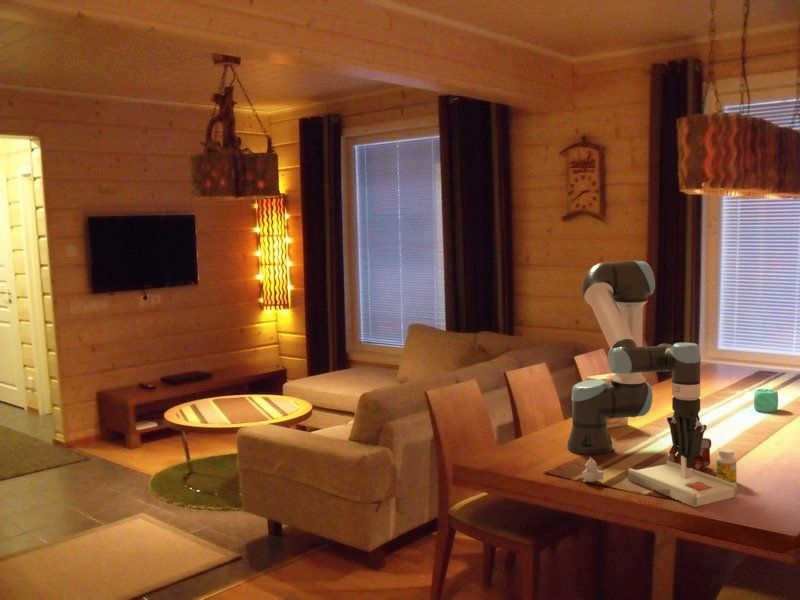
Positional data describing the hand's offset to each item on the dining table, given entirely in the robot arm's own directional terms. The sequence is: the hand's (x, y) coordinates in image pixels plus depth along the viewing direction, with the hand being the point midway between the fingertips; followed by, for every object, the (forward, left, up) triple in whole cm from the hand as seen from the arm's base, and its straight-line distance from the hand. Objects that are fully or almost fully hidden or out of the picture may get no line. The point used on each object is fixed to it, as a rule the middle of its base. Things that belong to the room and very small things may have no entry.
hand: (686, 477), depth 220 cm
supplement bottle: (+1, +15, -4) cm, 16 cm away
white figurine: (-19, -18, -4) cm, 27 cm away
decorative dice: (-53, +96, -4) cm, 110 cm away
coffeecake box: (-68, +28, -4) cm, 74 cm away
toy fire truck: (-14, +16, -4) cm, 22 cm away
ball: (+5, 0, -2) cm, 5 cm away
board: (-2, 0, -4) cm, 4 cm away
